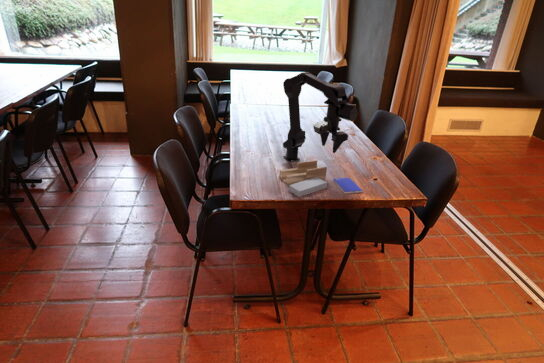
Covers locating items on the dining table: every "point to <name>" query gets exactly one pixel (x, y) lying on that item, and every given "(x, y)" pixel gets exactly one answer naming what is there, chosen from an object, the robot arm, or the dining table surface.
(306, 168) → the birch box
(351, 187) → the hard drive
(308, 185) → the cover plate
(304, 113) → the dining table surface
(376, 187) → the dining table surface
